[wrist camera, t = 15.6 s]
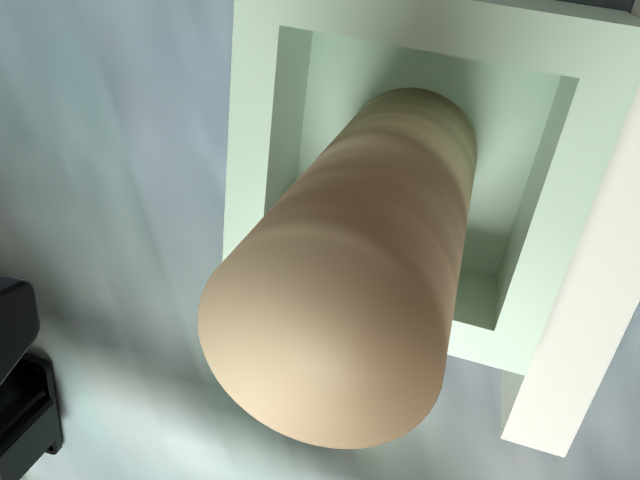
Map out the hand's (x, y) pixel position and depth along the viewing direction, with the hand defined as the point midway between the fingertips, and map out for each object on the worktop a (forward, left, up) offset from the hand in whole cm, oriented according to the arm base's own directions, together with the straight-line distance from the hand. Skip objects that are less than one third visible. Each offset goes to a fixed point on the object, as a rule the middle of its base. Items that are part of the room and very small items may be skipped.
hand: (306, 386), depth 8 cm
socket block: (0, 0, -12) cm, 12 cm away
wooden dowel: (0, 0, -11) cm, 11 cm away
